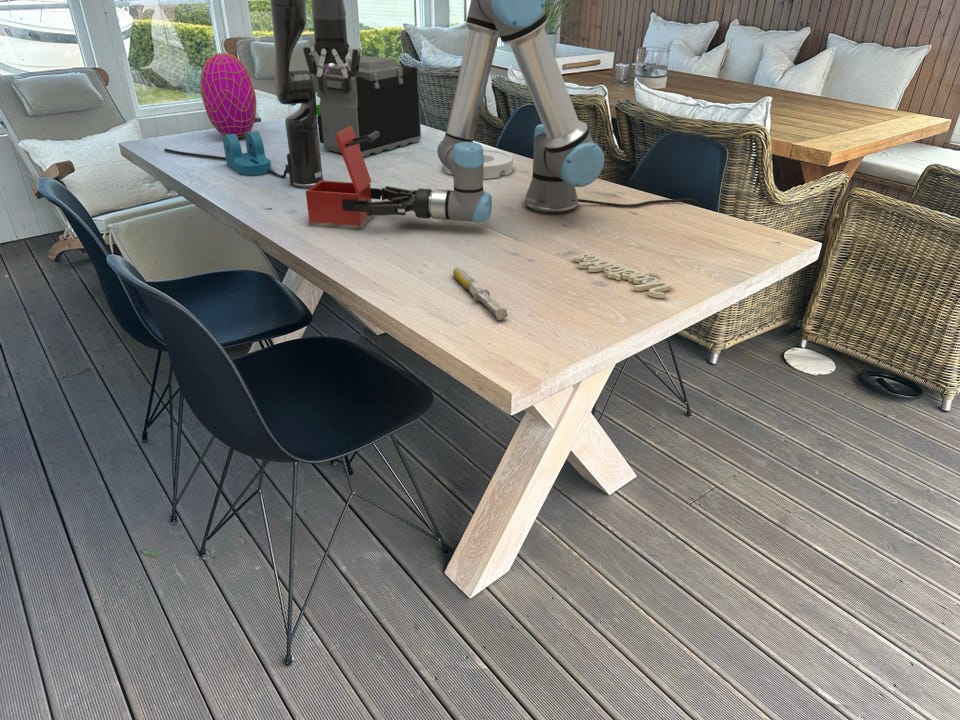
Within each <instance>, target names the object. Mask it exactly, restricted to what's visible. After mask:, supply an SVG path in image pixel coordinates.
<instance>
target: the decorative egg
mask: <svg viewBox="0 0 960 720" xmlns="http://www.w3.org/2000/svg"><path fill="white" fill-rule="evenodd" d="M200 93H201V99H202V103H203V106H204V109H205V112H206V114H207V117H208V120H209V121H210V123H211V124H212V126H213V127H214V128H215V130H216V131H217V132H218V133H219V134H220V135H222V136H223V137H224V135H230V134H235V135H236V136H237V138H238V139H241V138H244V137H246V133H247V132H252V129H253V127H254V125H255V122H256V117H257V95H256V90H255V86H254V84H253V80H252V77H251V75H250V73H249V71H248V69H247V68H246V66H245V65H244V64H243V62H242V60H241V59H239V58H238V57H237V56H235V55H233V54H231V53H227V52H219V53H215V54H213V55H210V56H208V58H207V59H206V60H205V62H204V64H203V67H202V68H201V74H200Z"/></svg>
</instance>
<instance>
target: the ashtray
mask: <svg viewBox="0 0 960 720" xmlns="http://www.w3.org/2000/svg"><path fill="white" fill-rule="evenodd" d="M483 155H484V166H483V180H488V179H489V180H490V179H497V178H498V179H499V178H500V177H501V176H505V177H506V176H508V175H510V174H511V173H512V172H513V171H514V170H513V168H514V157H513V156H512V155H511V154H510V153H508V152H505V151H500V150H496V149H489V148H488V149H487V148H486V149H485V148H483ZM443 171H444V173H446V174H448V175H453V173H452V172H451V171H450V170H449V169H448V168H447V167H445V166H444V165H443ZM453 176H454V175H453Z"/></svg>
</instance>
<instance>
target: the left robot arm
mask: <svg viewBox="0 0 960 720" xmlns="http://www.w3.org/2000/svg"><path fill="white" fill-rule="evenodd" d="M269 3H270V13H271V15H270V16H271V24H272V34H273V48H274V49H273V50H274V53H273V54H274V55H273V57H274V62H273V63H274V89H275V94H276V98H277V100H278V102H279V103H280V104H281V105H287V106H288V105H298V104H299V105H300V106H299V108H298V109H297V110H296V111H294V112H293V113H292V114H289V115H287V116H286V117H285V120H284V123H285V131H286V138H287V146H288V153H287V154H286V161H287V164H285V168H284V170H283V174H279V173H277V172H276V171H274V170H273V169H271V170H270V169H269V170H268V172H269V173H270V174H272V175H273V176H275V177H278V178H280V179H284V178H286V177H287V175H289V176H288V177H289V184H290V186H294V187H296V188H300V189H301V188H303V189H309V188H311V187H312V186H314V185H315V184H316V183H318V182H319V181H320V180H321V181H324V175H323V167H322V157H321V147H320V139H319V130H318V120H317V117H318V116H317V108H316V105H317V95H316V94H317V93H316V90H315V82H314V78H313V75H312V74H314V75H316V76H317V77H318V84H319V90H320V91H321V92H322V93H327V82H326V76H325V72H326V69H327V66H329V64H333V65H335V64H338V66H339V68H340V69H341V71H342V74H343V76H344V78H343V86H344V94H345V95H348V94H350V92H351V90H352V85H351V77H352V76H354V75H356V74H358V71H359V63H360V56H362V55H361V54H362V50H361V48H359V47H357V48H355V47H352V46H350V44H349V42H348V33H347V20H346V19H347V18H346V16H347V13H346V5H345V1H344V0H311V13H312V14H311V15H312V23H313V24H312V25H313V35H314V45H312V46H310V45H308V46H305V47H304V48H303V50H302V51H303V54H304V59H305V61H306V64H307V67H308V69H307V68H299V69H290V65H291V59H292V54H293V52H294V49H295V48H296V46H297V44H298V42H299V40H300V39H301V36H302V34H303V33H304V30H305V27H306V25H307V2H306V0H270V1H269ZM316 54H317V55H318V57H319V60H318V61H319V64H318V67H317V62H316V58H315V55H316ZM348 54H349V56H350V58H352V62H351V71H350V69H349V66H348V62H347V60H346V58H347V55H348ZM163 151H164V152H167V153H172V154H177V155H181V156H188V157H189V156H190V157H197V158H206V159H215V160H220V161H221V160H223V161H226V156H218V155H211V154H202V153H194V152H186V151H180V150H174V149H170V148H164V149H163Z"/></svg>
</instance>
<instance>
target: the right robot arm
mask: <svg viewBox="0 0 960 720" xmlns="http://www.w3.org/2000/svg"><path fill="white" fill-rule="evenodd" d="M545 5H546V0H470V3H469V7H468V11H467V17H466V21H465V25H466V26H467V30H468V31H467V36H466V39H465V45H464V49H463V53H462V57H461V62H460V67H459V71H458V76H457V81H456V85H455V88H454V89H455V90H454V94H453V97H452V98H453V99H452V102H451V107H450V111H449V116H448V121H447V125H446V130H445V133H444V138H443V139H442V140H441V141H440V142H439V143H438V145H437V150H436V151H437V152H436V153H437V157H438V159H439V160H440V163H441V164H442V165H443V167H444V166H445V167H447V168H448V169H449V170H450V171H451V172H452V173H453V190H452V189H439V188H438V189H437V188H433V190H432V189H431V188H421V187H420V188H417V189H405V188H399V187H394V186H389V185H387V186H385V187H382V188H375V187H371V200H377V201H372V202H369V201H368V200H366V201H362V200H347V199H343V200H342V204H343V210H346V211H360V212H367V215H368V216H371V215H373V216H406V215H407V213H409V212H414V215H415V217H416V218H418V219H427V220H429V219H431V218H432V219H433V220H440V221H441V222H445V221H446V220H447V221H459V222H467V223H469V222H470V223H485V222H488V221H489V220H490V218H491V214H492V209H493V201H492V200H493V199H492V194H491V193H489V192H486V191H484V179H483V166H484V155H483V149H484V147H483V145H482V144H481V143H478V142H474V137H475V134H476V130H477V126H478V122H479V117H480V113H481V109H482V105H483V102H484V97H485V93H486V90H487V87H488V86H487V85H488V81H489V77H490V73H491V69H492V66H493V61H494V57H495V53H496V48H497V44H498V41H499V39H500V41H501V42H502V43H503V44H506V45H508V46H510V48H511V51H512V53H513V55H514V57H515V60H516V62H517V66H518V68H519V70H520V72H521V75H522V78H523V80H524V82H525V84H526V87H527V90H528V92H529V94H530V97H531V100H532V102H533V105H534V107H535V109H536V111H537V114H538V116H539V119H540V122H541V123H540V124H538V125H536V127H535V129H534V135H533V152H532V153H533V156H532V176H531V177H532V178H531V181H530V183H529V186H528V189H527V191H526V194H525V197H524V206H525V208H527V209H528V210H530V211H533V212H535V213H540V214H548V215H559V214H561V215H562V214H567V213H568V214H569V213H571V212H574V211H576V210H578V205H579V203H586V204H595V205H600V206H601V205H602V206H610V207H619V208H634V207H635V208H636V207H641V206H645V205H651V204H662V203H682V202H691V203H694V204H695V205H696V206H701V203H700V202H699V201H698V200H697V199H694V198H687V197H686V198H675V199H656V200H648V201H643V202H639V203H638V202H637V203H631V204H630V203H629V204H628V203H627V204H626V203H613V202H606V201H597V200H591V199H584V198H583V199H582V198H578V194H577V189H576V188H583V187H587V186H589V185H591V184H592V183H594V182H595V181H596V180H597V179H598V177H600V175H601V172H602V170H603V169H604V166H605V156H604V155H605V154H604V151H603V150H602V149H601V147H600V146H599V145H598V144H597V143H595V142H594V141H593V138H592V135H591V132H590V130H589V127H588V125H587V123H586V122H584V121H580V120H579V118H578V114H577V113H576V110H575V107H574V104H573V102H572V99H571V96H570V93H569V91H568V88H567V85H566V82H565V80H564V78H563V75H562V72H561V70H560V67H559V64H558V62H557V59H556V56H555V53H554V50H553V48H552V46H551V42H550V40H549V36H548V35H547V31H546V25H547V23H548V20H549V18H548V15H547V12H546V10H545ZM379 200H380V201H379ZM371 209H372V210H371Z"/></svg>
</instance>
